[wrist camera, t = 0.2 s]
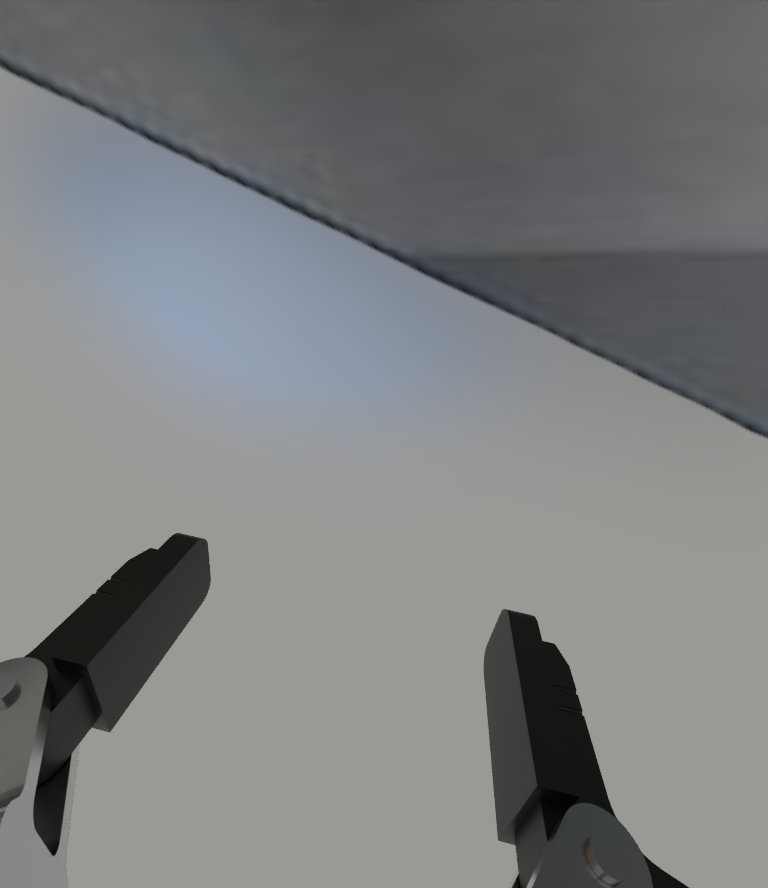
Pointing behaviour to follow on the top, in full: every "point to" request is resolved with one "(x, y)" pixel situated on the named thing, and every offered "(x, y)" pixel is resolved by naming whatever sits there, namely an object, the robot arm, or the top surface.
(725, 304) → the top surface
